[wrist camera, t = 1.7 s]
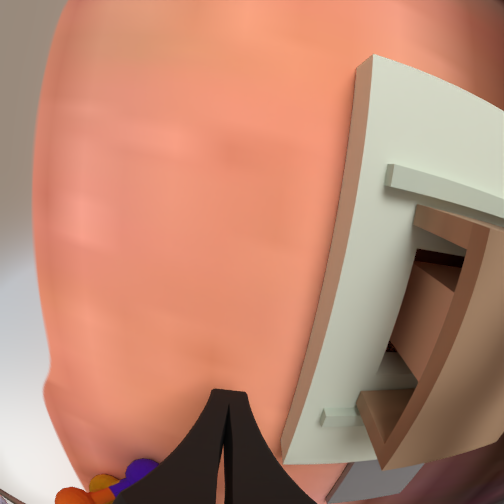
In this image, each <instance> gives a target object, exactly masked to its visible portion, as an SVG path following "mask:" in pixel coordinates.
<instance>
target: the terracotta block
mask: <svg viewBox="0 0 504 504" xmlns="http://www.w3.org/2000/svg"><path fill="white" fill-rule="evenodd" d="M461 270H462V268H459V267H452V266H445V265H439V264H432V263H425V262H419V261H414V262H413V266H412V269H411V273H410V277H409V280H408V284H407V287H406V291H405V294H404V297H403V301H402V304H401V307H400V310H399V313H398V316H397V319H396V322H395V325H394V328H393V331H392V334H391V337H390V342H391V343H392V344H393V346H394V347H395V349H396V350H397V351H398V353H399V354H400V356H401V357H402V359H403V360H404V361H405V363H406V364H407V366H408V367H409V369H410V370H411V372H412V373H413V374H414V376H415V377H416V379H417V380H418V382H419V380H420V378H421V376H422V374H423V372H424V370H425V367H426V365H427V363H428V361H429V358H430V356H431V354H432V352H433V349H434V347H435V344H436V342H437V339H438V337H439V334H440V332H441V329H442V327H443V324H444V321H445V319H446V316H447V313H448V310H449V308H450V305H451V302H452V299H453V296H454V293H455V290H456V286H457V283H458V280H459V277H460V273H461Z"/></svg>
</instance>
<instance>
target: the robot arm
mask: <svg viewBox="0 0 504 504" xmlns="http://www.w3.org/2000/svg"><path fill="white" fill-rule="evenodd" d="M223 444H224V474H225V501H224V504H317V503H316V502H315V501H314V500H312V499H311V498H310V497H309V496H308V495H307V494H306V493H305V492H304V491H303V490H302V489H301V488H300V487H299V486H298V485H297V484H296V483H295V482H294V481H293V480H292V479H291V477H290V476H289V475H288V474H287V473H286V472H285V470H284V469H283V468H282V466H281V465H280V464H279V462H278V461H277V460H276V458H275V457H274V455H273V454H272V452H271V450H270V449H269V447H268V445H267V444H266V442H265V440H264V438H263V436H262V434H261V432H260V430H259V428H258V426H257V423H256V421H255V419H254V416H253V413H252V411H251V408H250V404H249V401H248V396H247V394H246V392H241V391H232V390H223V389H213V390H212V391H211V394H210V397H209V399H208V402H207V404H206V406H205V408H204V410H203V411H202V413H201V415H200V416H199V418H198V420H197V421H196V423H195V424H194V426H193V427H192V429H191V430H190V431H189V433H188V434H187V435H186V437H185V438H184V439H183V441H182V442H181V443H180V444H179V445H178V446H177V447H176V449H175V450H174V451H173V452H172V453H171V454H170V455H169V456H168V457H167V458H166V459H165V460H164V461H163V462H161V463H160V464H159V465H158V466H157V467H156V468H154V469H153V470H152V471H151V472H149V473H148V474H147V475H145V476H144V477H143V478H141V479H140V480H139V481H137V482H135V483H134V484H132V485H131V486H129V487H127V488H126V489H124V490H122V491H121V492H120V493H119V494H118V495H117V497H116V498H115V500H114V501H113V503H112V504H215V503H216V488H217V474H218V469H219V464H220V459H221V454H222V449H223ZM0 504H8V503H7V502H6V500H5V499H4V498H3V497H2V496H1V495H0Z"/></svg>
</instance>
